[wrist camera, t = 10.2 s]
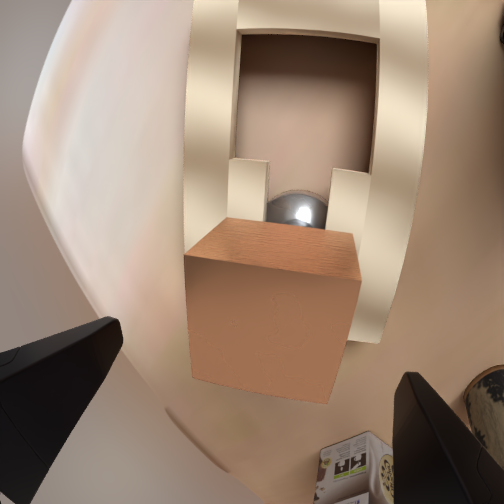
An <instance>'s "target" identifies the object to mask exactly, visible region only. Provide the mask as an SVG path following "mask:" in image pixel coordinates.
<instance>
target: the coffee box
mask: <svg viewBox="0 0 504 504" xmlns="http://www.w3.org/2000/svg"><path fill="white" fill-rule="evenodd" d="M393 499H394V477H393V449H392V448H390V447H389V446H388V445H386V444H385V443H384V442H382V441H381V440H380V439H378V438H377V437H376V436H375V435H373V434H372V433H371V432H369V431H368V432H365V433H363V434H360V435H358V436H356V437H353V438H351V439H348V440H346V441H343V442H340V443H338V444H335V445H332V446H329V447H327V448H324V449H322V450H321V453H320V461H319V469H318V476H317V482H316V489H315V496H314V502H313V504H393Z"/></svg>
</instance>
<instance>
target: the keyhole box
mask: <svg viewBox="0 0 504 504" xmlns="http://www.w3.org/2000/svg"><path fill="white" fill-rule="evenodd" d="M242 34H293V35H311V36H323V37H333V38H342V39H350V40H357V41H364V42H370V43H376V44H377V73H376V96H375V112H374V125H373V137H372V147H371V157H370V166H369V173H365V172H359V171H352V170H345V169H338V168H332V175H331V184H330V193H329V201H328V210H327V217H326V225H325V230H332V231H339V232H346V233H353V237H354V242H355V247H356V252H357V256H358V261H359V267H360V272H361V277H362V284H361V288H360V292H359V296H358V301H357V305H356V309H355V313H354V316H353V320H352V324H351V328H350V332H349V335H348V339H347V340H352V341H360V342H369V343H378V344H379V342H380V339H381V336H382V333H383V330H384V327H385V324H386V321H387V318H388V315H389V312H390V309H391V305H392V302H393V299H394V295H395V292H396V288H397V285H398V281H399V277H400V273H401V269H402V266H403V262H404V257H405V253H406V249H407V245H408V240H409V236H410V231H411V226H412V221H413V216H414V211H415V205H416V200H417V194H418V188H419V181H420V174H421V167H422V159H423V151H424V142H425V131H426V119H427V103H428V29H427V14H426V2H425V0H194V3H193V12H192V22H191V32H190V43H189V56H188V69H187V85H186V104H185V130H184V247H185V253H186V252H187V251H188V250H190V249H191V248H192V247H193V246H194V245H195V244H196V243H197V242H199V241H200V240H201V239H202V238H203V237H204V236H205V235H207V234H208V233H209V232H210V231H211V230H212V229H213V228H215V227H216V226H217V225H218V224H219V223H220V222H222V221H223V220H224V219H225V218H226V217H229V218H238V219H246V220H255V221H263V222H266V215H267V201H268V186H269V172H270V161H266V160H253V159H239V158H235V143H236V123H237V104H238V86H239V69H240V53H241V38H242Z"/></svg>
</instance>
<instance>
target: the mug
mask: <svg viewBox="0 0 504 504" xmlns="http://www.w3.org/2000/svg"><path fill="white" fill-rule="evenodd" d="M464 402H465V404H466V409H467V413H468V418H469V423H470V426H471V430H472V434H473V435H474V436H475V437H476V438H477V439H478V441H479V442H480V443H481V444H482V446H484V448H485V449H486V450H487V451H488V452H489V454H490V455H491V456H492V457H493V458H494V459H495V461H496V462H497V463H498V464H499V465H500V466H501V467H502V468H503V469H504V365H497V366H494V367H491V368H489V369H487V370H485V371H483V372H482V373H481V374H479V375H478V376H477V377H476V378H475V379H474V380H472V382H471V383H470V384H469V385H468V387H467V389H466V391H465V393H464ZM482 446H481V447H482Z"/></svg>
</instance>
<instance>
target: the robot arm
mask: <svg viewBox="0 0 504 504" xmlns="http://www.w3.org/2000/svg"><path fill="white" fill-rule="evenodd" d="M503 15H504V13H503ZM500 39H501V42H502V43H503V44H504V24H503V28H502V31H501V34H500ZM122 344H123V335H122V330H121V325H120V322H119V320H118V319H116V318H113V317H109V316H107V317H104V318H101V319H98V320H96V321H93V322H90V323H87V324H84V325H81V326H78V327H75V328H72V329H69V330H67V331H64V332H61V333H58V334H55V335H52V336H49V337H47V338H44V339H41V340H38V341H35V342H32V343H29V344H26V345H23V346H21V347H17V348H14V349H11V350H8V351H5V352H2V353H0V494H1V493H3V494H4V495H5V496H6V497H7V498H9V499H10V500H11V501H12V502H14V503H15V504H30V503H31V501H32V499H33V497H34V496H35V494H36V492H37V490H38V488H39V487H40V485H41V483H42V481H43V480H44V478H45V476H46V474H47V473H48V471H49V468H50V467H51V465H52V463H53V462H54V460H55V458H56V457H57V455H58V453H59V452H60V450H61V448H62V447H63V445H64V443H65V442H66V440H67V438H68V437H69V435H70V433H71V431H72V430H73V429H74V427H75V425H76V424H77V422H78V420H79V419H80V417H81V415H82V414H83V412H84V411H85V409H86V408H87V406H88V404H89V403H90V401H91V400H92V398H93V397H94V395H95V394H96V392H97V390H98V389H99V387H100V386H101V384H102V383H103V381H104V379H105V378H106V376H107V374H108V372H109V370H110V368H111V366H112V364H113V362H114V360H115V358H116V356H117V354H118V353H119V351H120V349H121V347H122ZM392 443H393V477H394V499H393V504H504V469H503V468H502V467H501V466H500V465H499V464H498V463H497V462H496V461H495V459H494V458H493V457H492V456H491V455H490V454H489V452H488V451H487V450H486V449H485V448H484V446H482V444H481V443H480V442H479V441H478V439H477V438H476V437H475V436H474V435H473V434H472V432H471V431H470V430H469V429H468V428H467V427H466V425H465V424H464V423H463V422H462V421H461V420H460V418H459V417H458V416H457V415H456V414H455V413H454V412H453V410H452V409H451V408H450V407H449V406H448V405H447V404H446V402H445V401H444V400H443V399H442V398H441V397H440V396H439V395H438V393H437V392H436V391H435V390H434V389H433V388H432V387H431V386H430V385H429V383H428V382H427V381H426V380H425V379H424V378H423V377H422V376H421V375H420V374H419V373H418V372H405V373H404V375H403V377H402V379H401V381H400V383H399V385H398V387H397V389H396V391H395V396H394V419H393V439H392ZM481 446H482V447H481ZM0 504H1V501H0Z"/></svg>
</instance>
